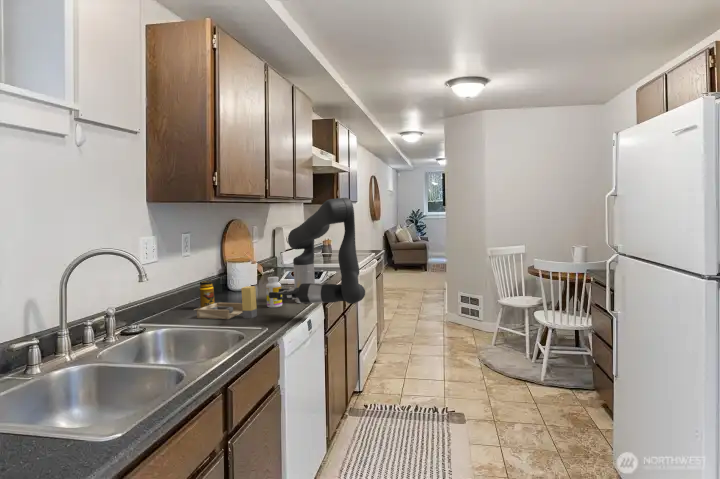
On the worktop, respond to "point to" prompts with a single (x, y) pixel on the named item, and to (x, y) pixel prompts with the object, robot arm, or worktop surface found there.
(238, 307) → the walled box
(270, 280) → the supplement bottle
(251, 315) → the yellow upright block
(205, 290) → the condiment
